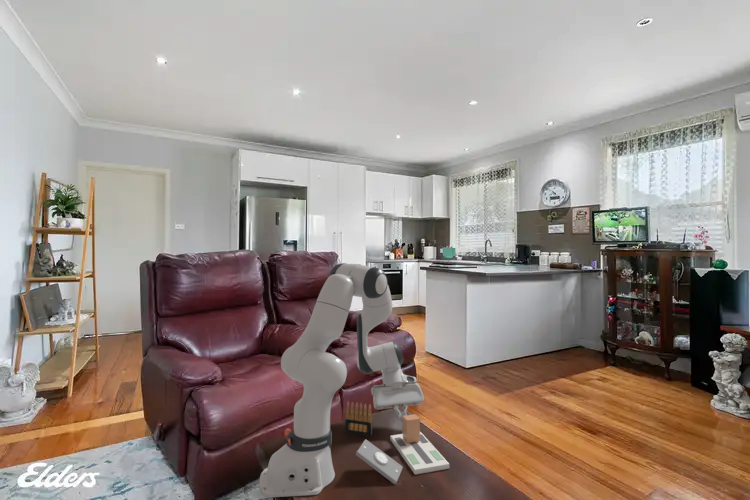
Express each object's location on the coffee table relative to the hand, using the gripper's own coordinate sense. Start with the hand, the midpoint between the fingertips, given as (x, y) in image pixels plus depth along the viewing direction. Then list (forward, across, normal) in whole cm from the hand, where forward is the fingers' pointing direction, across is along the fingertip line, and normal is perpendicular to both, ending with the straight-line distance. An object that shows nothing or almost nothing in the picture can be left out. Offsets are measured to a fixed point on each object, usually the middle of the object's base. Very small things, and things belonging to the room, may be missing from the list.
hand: (403, 417), depth 144 cm
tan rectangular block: (+9, 0, -2) cm, 9 cm away
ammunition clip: (+1, -16, +9) cm, 18 cm away
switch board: (+14, 0, -5) cm, 15 cm away
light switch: (+20, -16, -10) cm, 28 cm away
